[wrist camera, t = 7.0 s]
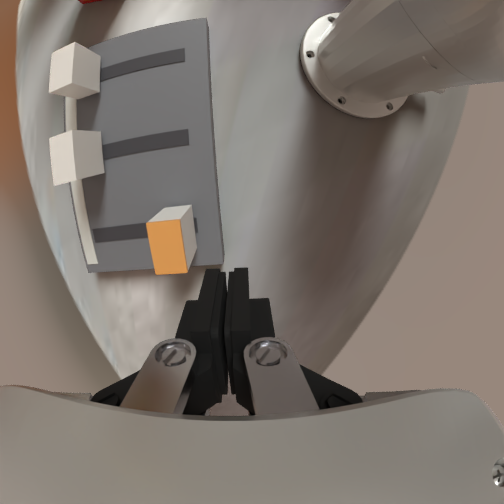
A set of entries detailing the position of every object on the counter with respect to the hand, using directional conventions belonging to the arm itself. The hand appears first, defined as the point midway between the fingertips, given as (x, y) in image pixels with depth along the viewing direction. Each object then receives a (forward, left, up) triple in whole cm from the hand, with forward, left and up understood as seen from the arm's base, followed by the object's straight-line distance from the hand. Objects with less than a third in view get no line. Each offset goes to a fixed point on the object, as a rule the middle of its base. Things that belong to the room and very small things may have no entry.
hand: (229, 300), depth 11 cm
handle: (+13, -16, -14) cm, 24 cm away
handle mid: (+13, -8, -14) cm, 20 cm away
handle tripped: (+5, 0, -14) cm, 14 cm away
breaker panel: (+9, -8, -17) cm, 20 cm away
